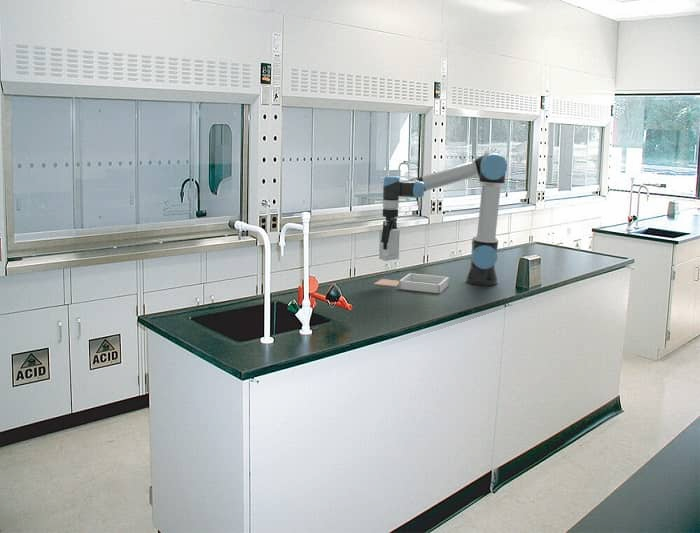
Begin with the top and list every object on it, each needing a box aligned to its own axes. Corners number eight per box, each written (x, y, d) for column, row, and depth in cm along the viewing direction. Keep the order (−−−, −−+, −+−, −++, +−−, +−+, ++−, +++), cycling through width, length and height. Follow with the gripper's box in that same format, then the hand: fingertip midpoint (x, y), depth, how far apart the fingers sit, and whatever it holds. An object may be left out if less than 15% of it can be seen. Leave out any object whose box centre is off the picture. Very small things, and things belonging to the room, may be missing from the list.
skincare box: (391, 257, 343) (393, 227, 340) (399, 259, 338) (400, 229, 335) (378, 259, 339) (379, 229, 336) (385, 261, 334) (386, 230, 331)
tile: (402, 282, 344) (402, 281, 344) (395, 287, 334) (395, 285, 334) (381, 280, 348) (381, 278, 348) (374, 284, 338) (374, 283, 338)
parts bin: (448, 285, 340) (449, 277, 339) (439, 293, 324) (439, 285, 323) (409, 280, 347) (410, 273, 347) (398, 288, 331) (399, 280, 330)
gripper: (390, 205, 345) (389, 249, 350) (375, 210, 325) (373, 257, 329) (405, 206, 342) (403, 250, 347) (390, 211, 322) (388, 258, 327)
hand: (389, 254), depth 338 cm, fingers closed on skincare box, 10 cm apart
